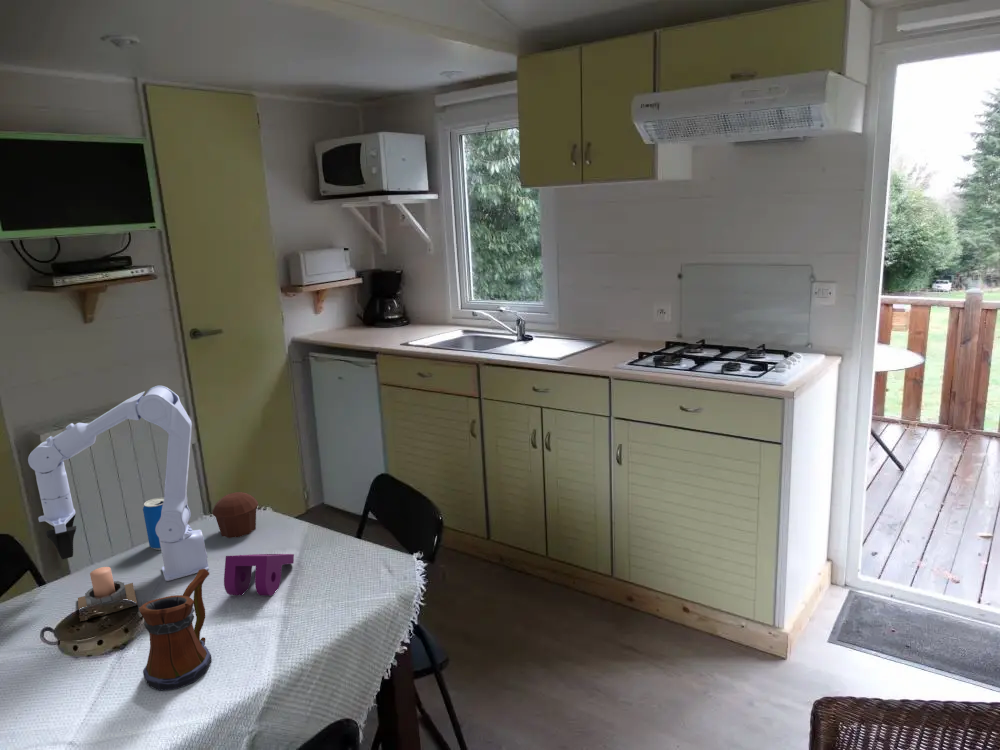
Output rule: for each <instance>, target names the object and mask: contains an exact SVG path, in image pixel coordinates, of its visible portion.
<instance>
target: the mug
mask: <svg viewBox="0 0 1000 750" xmlns="http://www.w3.org/2000/svg"><path fill="white" fill-rule="evenodd" d="M209 575H210V572H209V570H206V569H201V570H199V571H198V573H196V576H195V577H194V578H193V579H192V581H191V582H190V583H189V584H188V585H187V586H186V588H185V590H184V591H183V594H181V595H180V594H177V595H170V596H164V597H159V598H156V599H152V600H149V601H147V602H145V603H144V604H141V606H140V607H139V608H138V610H139V613H140V614H141V616H142V617H143V619H144V623H143V626H144V628H145V629H146V630H147V632H148V633H149V652H148V658H147V661H146V665H145V667H144V668H143V670H142V674H143V675H142V676H143V677H144V680H145V681H146V683H147V686H149V688H152V689H154V690H157V691H159V692H163V691H171V690H177V689H180V688H183V687H185V686H188V685H191V684H193V683H195V682H196V681H198V679H200V678H201V677H202V676H204V675H205V674H206V673H207V671H208V669H210V668H209V667H210V666H211V664H212V660H213V659H212V654H211V653H210V651H209V649H208V647H207V646H205V645H206V637H201V636H200V635H201V631H202V628H203V626H204V622H205V619H206V607H205V604H204V600H203V584H204V582H205V581H206V579H207V577H209ZM192 594H193V599H192V598H191V596H192ZM194 613H195V616H194ZM195 617H196V618H195ZM194 619H195V620H196V621H195V625H194V624H193V622H194ZM200 637H201V638H200Z"/></svg>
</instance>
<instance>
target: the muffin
mask: <svg viewBox="0 0 1000 750" xmlns="http://www.w3.org/2000/svg"><path fill="white" fill-rule="evenodd" d="M258 505H259V502H258V500H257V499H256V498H255V496H252V495H251V494H249V493H246V492H241V491H237V492H231V493H228V494H226V495H224V496H223V497H221V498H220V499H219V500H218V501H217V502H216V503H215V505H214V507H213V508H212V509H211V510H212V511H211V515H213V516H214V518H215V520H216V524H217V526H218V530H219V531H220V535H221V537H225V538H227V539H232V538H242V537H244V536H246V535H250V534H251V533H252V532H254V531H255V530H256V529H257V527H256V526H257V508H258Z"/></svg>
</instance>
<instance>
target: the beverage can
mask: <svg viewBox="0 0 1000 750" xmlns="http://www.w3.org/2000/svg"><path fill="white" fill-rule="evenodd" d="M163 501H164V496H163V497H154V498H151V499H149V500H146V501H145V502H144V503H143V507H142V511H143V517H144V523H145V529H146V535H147V540H148V544H149V548H151V549H154V550H157V551H158V550H159V551H161V546H160V541H159V537H158V536H157V534H156V525H157V523H158V521H159V520H160V518H161V511H162V506H163Z"/></svg>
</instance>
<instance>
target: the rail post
mask: <svg viewBox="0 0 1000 750" xmlns="http://www.w3.org/2000/svg"><path fill="white" fill-rule="evenodd" d="M112 573H113V572H112V568H111V567H109V566H102V567H98V568H96V569H94V570H92V571H91V572H90V573H89V576H90V581H91V584H92V585H91V586H92V588H93V590H94V595H95V598H98V597H104V596H108V595H111V594H113V593H115V592H116V591H115V586H114V582H113V581H114V577H113V574H112Z"/></svg>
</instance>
